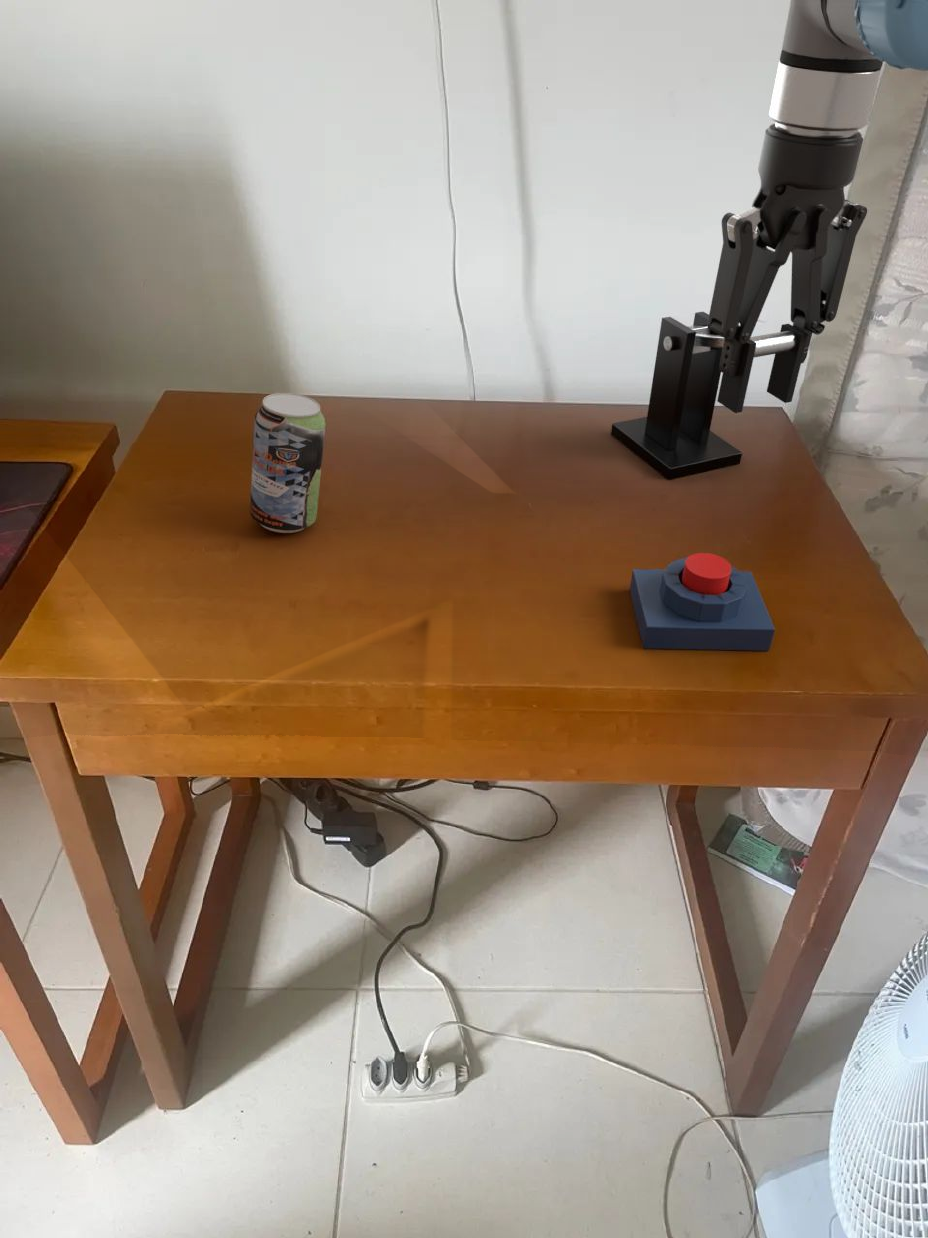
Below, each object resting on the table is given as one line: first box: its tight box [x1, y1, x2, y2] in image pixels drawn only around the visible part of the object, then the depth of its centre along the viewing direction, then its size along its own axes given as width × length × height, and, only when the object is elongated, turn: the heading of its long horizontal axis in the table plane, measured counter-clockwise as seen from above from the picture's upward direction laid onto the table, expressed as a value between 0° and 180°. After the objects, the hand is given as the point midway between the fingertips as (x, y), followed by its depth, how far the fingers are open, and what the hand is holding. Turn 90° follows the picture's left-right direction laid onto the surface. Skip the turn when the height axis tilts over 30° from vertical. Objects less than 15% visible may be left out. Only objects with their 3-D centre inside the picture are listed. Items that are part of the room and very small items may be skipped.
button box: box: [629, 556, 776, 652], centre depth 79 cm, size 10×8×4 cm
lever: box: [686, 325, 797, 358], centre depth 93 cm, size 13×5×2 cm, turn 26°
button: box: [682, 552, 732, 595], centre depth 78 cm, size 4×4×2 cm
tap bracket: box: [610, 311, 743, 480], centre depth 100 cm, size 11×9×14 cm
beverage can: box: [249, 392, 326, 534], centre depth 87 cm, size 6×7×12 cm
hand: (754, 400), depth 91 cm, fingers closed on lever, 5 cm apart
